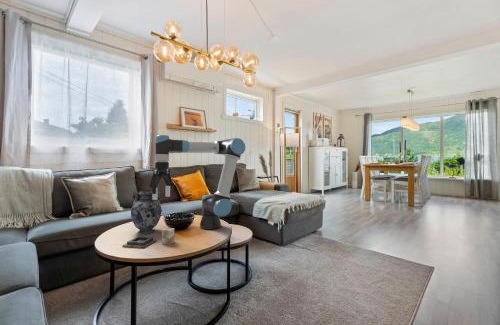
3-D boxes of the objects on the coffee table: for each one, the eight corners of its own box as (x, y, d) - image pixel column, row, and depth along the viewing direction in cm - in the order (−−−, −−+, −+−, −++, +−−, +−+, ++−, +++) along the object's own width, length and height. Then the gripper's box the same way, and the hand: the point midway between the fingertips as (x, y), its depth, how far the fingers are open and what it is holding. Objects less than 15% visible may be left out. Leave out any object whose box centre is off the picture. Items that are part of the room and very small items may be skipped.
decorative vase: (167, 229, 168) (167, 189, 168) (154, 237, 150) (154, 192, 150) (138, 228, 170) (139, 189, 170) (122, 236, 152) (122, 192, 152)
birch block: (174, 242, 141) (174, 228, 141) (169, 244, 136) (169, 230, 136) (166, 241, 142) (166, 228, 142) (161, 244, 137) (161, 230, 137)
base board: (157, 240, 143) (157, 236, 143) (143, 248, 130) (143, 243, 130) (137, 239, 145) (137, 235, 145) (122, 247, 132) (122, 242, 132)
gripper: (167, 162, 153) (167, 195, 152) (142, 161, 128) (142, 200, 128) (178, 162, 151) (177, 195, 151) (155, 161, 127) (155, 201, 127)
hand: (161, 198), depth 140 cm, fingers open, 13 cm apart
